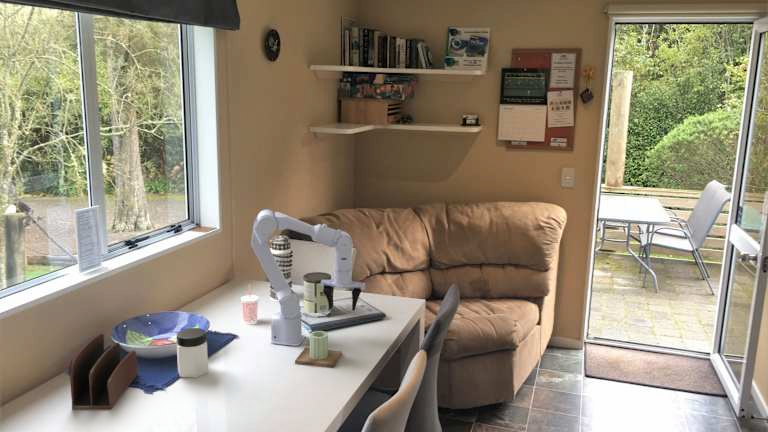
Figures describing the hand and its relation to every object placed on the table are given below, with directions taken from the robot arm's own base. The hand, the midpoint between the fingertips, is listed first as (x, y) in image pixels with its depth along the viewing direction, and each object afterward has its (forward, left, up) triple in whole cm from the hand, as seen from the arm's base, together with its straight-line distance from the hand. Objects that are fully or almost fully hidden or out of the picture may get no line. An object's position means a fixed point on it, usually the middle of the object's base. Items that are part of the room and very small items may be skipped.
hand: (342, 308), depth 204 cm
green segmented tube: (-3, -17, -9) cm, 20 cm away
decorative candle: (-33, +32, -11) cm, 47 cm away
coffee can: (-15, +21, -11) cm, 28 cm away
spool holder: (-3, -17, -10) cm, 20 cm away
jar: (-36, -34, -11) cm, 51 cm away
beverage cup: (-35, +6, -11) cm, 37 cm away
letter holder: (-53, -50, -11) cm, 74 cm away
